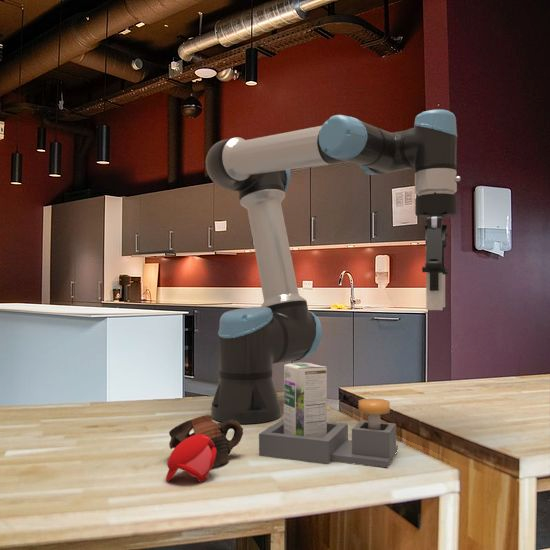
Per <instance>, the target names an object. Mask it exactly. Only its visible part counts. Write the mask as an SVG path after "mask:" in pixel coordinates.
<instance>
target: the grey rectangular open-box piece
mask: <svg viewBox="0 0 550 550" xmlns="http://www.w3.org/2000/svg"><path fill="white" fill-rule="evenodd" d="M380 427H381V430H374V429H368V420H362V419H361V420H359V421H358V422H357V423H356V424H355V425H354V426H353V427H352V428H351V439H350V440H349V423H345V422H336V421H327V434H326V435H325V436H324V437H323V438H318V437H308V436H299V435H290V434H284V418H282V419H281V420H279V421H278V422H276V423H275V424H273V425H271V426H269V427H267V428H266V429H265V430H263V431H261V432H260V433H258V455H259V456H264V457H271V458H279V459H287V460H288V459H289V460H296V461H303V462H309V463H312V462H313V463H319V464H327V465H329V464H331V463H332V462H335V461H336V463H337V462H338V463H343V462H347V463H346V464H351V463H355V464H354V465H359V464H363V465H362V466H368V465H370V466H369V467H376V466H380V467H379V468H384V467H388V466H389V467H390V465H391V464H390V463H392V462H393V460H394V459H393V457H394V455H395V453H396V452H397V450H398V451H399V445H398V444H397V423H394V422H382V421H380ZM397 453H398V452H397ZM395 456H396V455H395ZM394 458H395V457H394ZM392 459H393V460H392ZM391 461H392V462H391ZM389 467H388V468H389Z"/></svg>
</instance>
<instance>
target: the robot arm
mask: <svg viewBox="0 0 550 550" xmlns="http://www.w3.org/2000/svg"><path fill="white" fill-rule="evenodd" d="M413 125H414V126H413V127H412V128H411V127H410V128H408V129H405V130H401V131H395V132H389V131H387V130H384V129H382V128H379V127H376V126H374V125H371V124H369V123H366V122H364V121H361V120H360V119H358V118H356V117H352V116H348V115H345V114H344V115H343V114H336V115H332V116H330V117H329V119H327V120H325V122H324V123H322V125H319V126H318V125H317V126H314V127H313V126H312V127H308V128H304V129H298V130H292V131H288V132H283V133H282V132H281V133H276V134H270V135H266V136H261V137H254V138H250V139H244V138H242V137H238V136H237V137H232V138H227V139H223V140H220V141H217V142H216V143H215V144H213V145H212V146H211V147H210V149H209V150H208V152H207V155H206V156H205V170H206V172H207V175H208V176H209V177H208V178H210V179H211V181H212V182H213V183H214V184H215V185H216V186H218V187H219V188H222V189H225V190H229V191H234V192H237V193H238V198H239V203H240V206H242V207H243V208H244V209H246V210H247V215H248V216H247V217H248V220H249V226H250V232H251V237H252V241H253V242H252V243H253V248H254V254H255V258H256V263H257V270H258V276H259V280H260V286H261V292H262V298H263V303H262V304H261V306H254V307H244V308H237V309H231V310H227V311H225V312H224V313H222V315H221V316H220V318H219V326H218V327H219V328H218V333H217V335H218V349H219V350H218V353H219V354H218V355H219V356H218V361H219V363H218V364H219V365H218V371H219V373H218V374H219V375H218V384H217V388H216V391H215V394H214V397H213V400H212V403H211V407H210V410H211V412H210V415H211V418H212V420H215V421H217V422H220V423H223V422H225V421H228V420H236V421H238V422H239V423H240V425H241V424H245V425H246V424H247V425H248V424H258V423H267V422H271V421H274V420H277V419H279V418H280V417H281V414H282V413H281V411H282V410H281V409H282V408H281V403H280V399H279V397H278V393H277V390H276V388H275V387H276V386H275V384H274V380H273V364H279V363H286V362H297V361H301V360H304V359H307V358H309V357H311V356H312V355H314V353H316V352H317V350H318V348H319V346H320V345H321V342H322V337H323V329H322V328H323V327H322V323H321V321H320V318H319V317H318V316H317V315H316V314H315V313H314V312H312V311H310V310H309V306H308V303H307V301H308V300H307V299H305V298H304V297H302V296H301V295H300V293H299V289H298V288H299V287H298V283H297V279H296V274H295V268H294V263H293V258H292V253H291V248H290V243H289V238H288V232H287V227H286V222H285V219H284V218H285V216H284V213H283V207H282V202H283V201H284V200H285V198H286V192H287V190H288V188H289V183H290V182H291V170H296V169H297V170H298V169H305V168H312V167H320V166H327V165H328V166H329V165H337V164H343V163H351V164H352V163H353V164H356V165H359V167H360V169H361V170H363V172H364V173H365V174H367V175H369V176H371V175H373V176H374V175H381V176H382V175H385V174H389V173H394V172H399V171H404V170H411V169H414V171H415V173H414V193H415V195H416V197H415V199H414V202H415V203H414V205H415V206H414V207H415V209H414V211H415V213H414V215H415V216H416V217H417V218H419V219H420V218H423V219H426V225H424V235H425V240H424V242H425V245H426V248H425V249H426V253H425V256H426V257H425V263H424V266H422V268H421V271H422V273H425V275H426V276H425V279H426V280H425V282H426V283H425V289H426V290H425V295H426V297H425V298H426V300H425V301H426V302H425V303H426V307H425V309H426V310H425V311H443V308H446V275H449V269H448V268H447V269H446V266H445V264H446V263H445V258H446V257H445V248H446V247H447V237H448V224H444V220H443V219H445V218H453V217H454V216H456V215H457V213H458V196H457V195H456V194H455V193H457V191H458V186H457V185H458V184H457V182H460V181H461V176H459V175H457V173H458V172H457V169H458V167H457V160H458V159H457V157H458V156H457V151H458V150H457V148H458V143H457V142H458V136H459V135H458V132H457V130H458V129H457V117H456V116H455V114H454V113H453V112H451V111H450V110H446V109H430V110H426V111H422V112H420V113H419V114H417V115H416V116H415V119H414V124H413Z"/></svg>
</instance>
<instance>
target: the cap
mask: <svg viewBox="0 0 550 550" xmlns="http://www.w3.org/2000/svg"><path fill="white" fill-rule="evenodd" d="M216 452H217V450H216V448H215V445H214V443H213V441H212V440H211V439H210V438H209V437H208V436H207V435H204V434H197V435H193V436H190V437H188V438H186V439H185V440H183V441H182V442H181V443H179V444H178V445H177V446H176V447H175V448H173V450H172V451H171V453H170V455H169V456H168V457H169V458H168V460H167V467H168V470H167V473H166V478H165V481H166V482H170V481H171V480H172V479H173V477H174V475H176V473H177V472H178V470H179V469H180V470H181V471H184V472H185V473H187V475H189V476H191V477H193V478H197V480H198V481H199V482H204V481H206V480H207V476H208V475H209V472H210V471H211V469H212V468H213V467H212V465H213V463H214V461H215V458H216Z"/></svg>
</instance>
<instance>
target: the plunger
mask: <svg viewBox="0 0 550 550" xmlns="http://www.w3.org/2000/svg"><path fill="white" fill-rule="evenodd" d="M390 408H391V405H390V401H389V400H386V399H382V398H362V399H359V400H358V413H359V412H360V413H362V414H367V421H368V429H374V430H381V427H380V422H381V415H385V414H390V412H391V410H390Z"/></svg>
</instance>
